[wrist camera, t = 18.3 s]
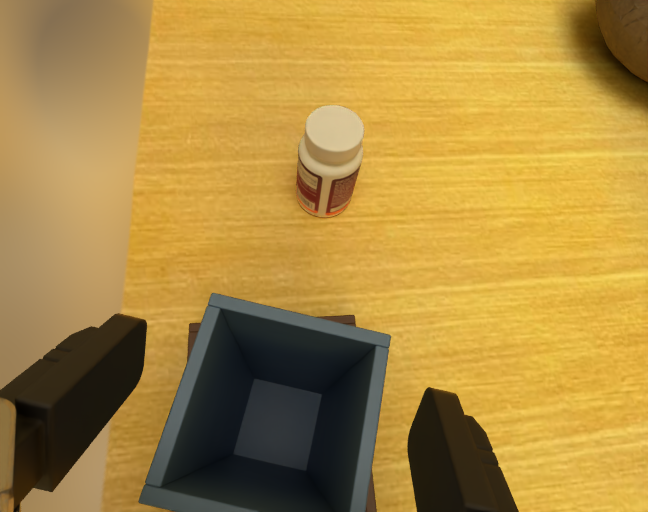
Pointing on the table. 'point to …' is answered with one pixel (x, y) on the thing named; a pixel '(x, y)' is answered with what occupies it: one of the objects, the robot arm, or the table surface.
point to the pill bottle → (329, 160)
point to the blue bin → (271, 415)
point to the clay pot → (626, 32)
